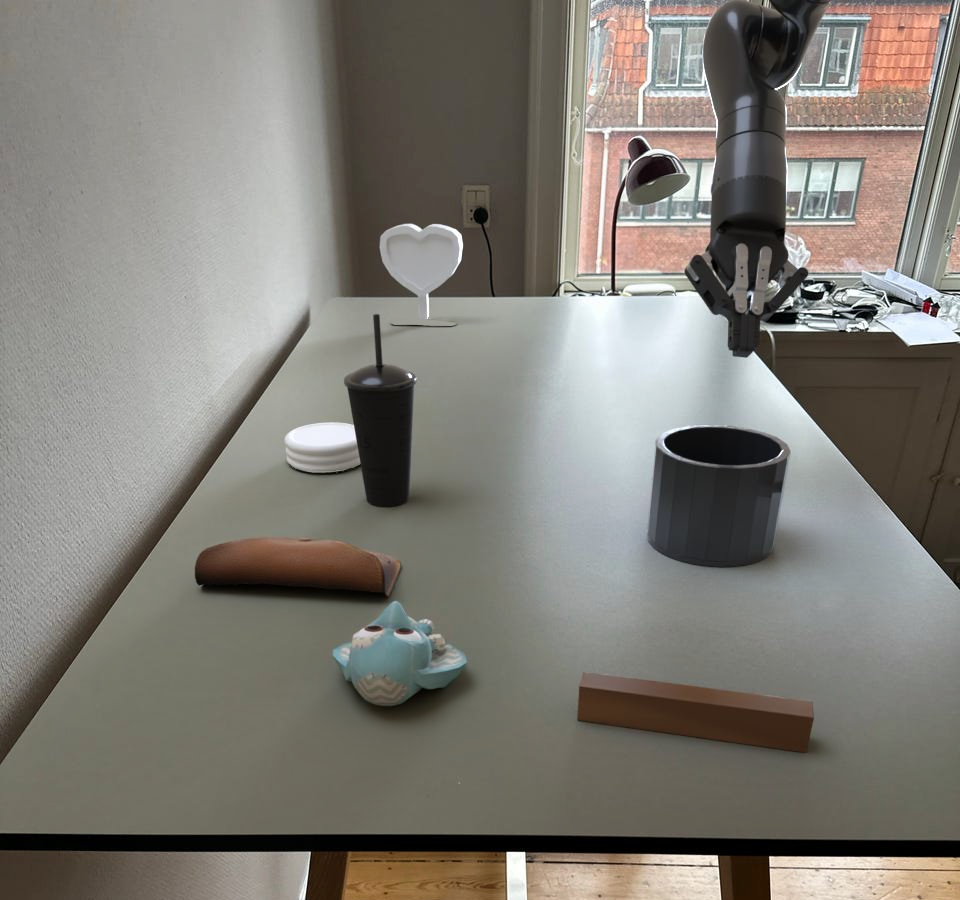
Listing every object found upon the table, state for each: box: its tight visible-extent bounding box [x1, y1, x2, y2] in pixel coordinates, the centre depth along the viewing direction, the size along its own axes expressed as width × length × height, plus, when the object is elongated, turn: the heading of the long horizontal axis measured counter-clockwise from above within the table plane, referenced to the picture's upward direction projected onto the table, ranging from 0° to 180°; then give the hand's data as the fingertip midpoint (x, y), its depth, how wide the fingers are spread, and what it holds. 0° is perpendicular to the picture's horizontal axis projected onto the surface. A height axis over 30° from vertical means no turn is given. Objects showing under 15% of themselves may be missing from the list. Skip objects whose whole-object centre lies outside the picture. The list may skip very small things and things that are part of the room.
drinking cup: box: [343, 313, 417, 508], centre depth 99 cm, size 8×8×20 cm
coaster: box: [284, 421, 361, 471], centre depth 114 cm, size 10×10×4 cm
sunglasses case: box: [194, 536, 402, 597], centre depth 86 cm, size 18×7×7 cm
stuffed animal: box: [332, 600, 468, 707], centre depth 71 cm, size 11×7×12 cm
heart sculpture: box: [379, 223, 464, 319], centre depth 178 cm, size 16×5×18 cm, turn 81°
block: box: [576, 671, 815, 754], centre depth 65 cm, size 2×16×3 cm, turn 76°
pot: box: [646, 424, 792, 568], centre depth 91 cm, size 13×13×10 cm
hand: (743, 354), depth 94 cm, fingers closed
